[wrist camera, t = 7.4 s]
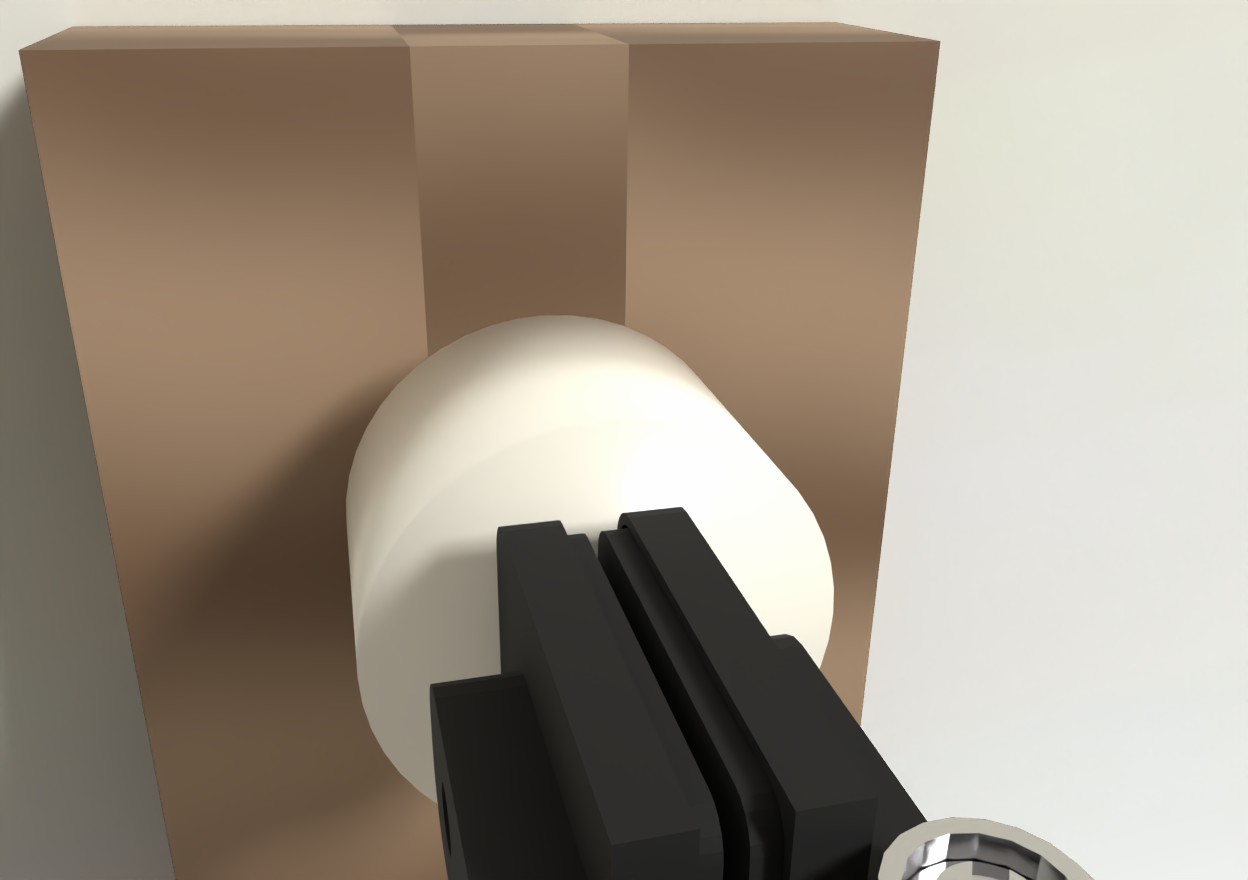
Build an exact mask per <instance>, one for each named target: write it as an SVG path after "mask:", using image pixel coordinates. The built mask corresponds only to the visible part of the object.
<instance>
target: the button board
mask: <svg viewBox="0 0 1248 880" xmlns="http://www.w3.org/2000/svg"><path fill="white" fill-rule="evenodd" d="M939 48H940V41H936V40H931V39H925V38H920V37H914V36H909V35H903V34H898V33H892V32H887V31H881V30H875V29H870V28H864V27H859V26H853V25H848V24H842V23H837V22H826V23H645V24H465V25H284V26H103V27H71V28H68V29H66V30H64V31H62V32H59V33H57V34H55V35H52V36H50V37H48V38H46V39H43V40H41V41H39V42H36V43H34V44H32V45H30V46H27V47H25V48H23V49H20V50H19V55H20V60H21V65H22V70H23V76H24V81H25V86H26V92H27V97H28V102H29V107H30V113H31V118H32V123H33V129H34V134H35V139H36V144H37V150H38V155H39V160H40V166H41V171H42V176H43V181H44V187H45V192H46V197H47V202H48V208H49V213H50V218H51V224H52V229H53V234H54V239H55V245H56V250H57V255H58V261H59V266H60V271H61V276H62V282H63V287H64V292H65V298H66V303H67V308H68V313H69V319H70V324H71V329H72V334H73V340H74V345H75V350H76V356H77V361H78V366H79V371H80V377H81V382H82V387H83V393H84V398H85V403H86V408H87V414H88V419H89V424H90V429H91V435H92V440H93V445H94V451H95V456H96V461H97V466H98V472H99V477H100V482H101V488H102V493H103V498H104V503H105V509H106V514H107V519H108V525H109V530H110V535H111V540H112V546H113V551H114V556H115V561H116V567H117V572H118V577H119V583H120V588H121V593H122V598H123V604H124V609H125V614H126V620H127V625H128V630H129V635H130V641H131V646H132V651H133V656H134V662H135V667H136V672H137V678H138V683H139V688H140V693H141V699H142V704H143V709H144V715H145V720H146V725H147V730H148V736H149V741H150V746H151V752H152V757H153V762H154V767H155V773H156V778H157V783H158V788H159V794H160V799H161V804H162V810H163V815H164V820H165V825H166V831H167V836H168V841H169V847H170V852H171V857H172V862H173V868H174V873H175V878H176V880H448V876H447V870H446V864H445V857H444V850H443V844H442V836H441V828H440V821H439V812H438V804H437V803H435V802H434V801H432V800H431V799H429V798H428V797H427V796H425V795H424V794H422V793H421V792H420V791H419V790H417V789H416V788H415V787H414V786H413V785H412V784H411V783H410V782H409V781H408V780H407V779H406V778H405V777H404V776H402V775H401V774H400V772H399V771H398V770H397V768H396V767H395V766H394V765H393V763H392V762H391V761H390V760H389V758H388V757H387V756H386V754H385V753H384V751H383V750H382V748H381V746H380V744H379V742H378V741H377V739H376V737H375V735H374V733H373V731H372V730H371V727H370V724H369V721H368V718H367V716H366V713H365V710H364V707H363V704H362V699H361V693H360V688H359V682H358V676H357V662H356V648H355V634H354V621H353V607H352V593H351V579H350V565H349V551H348V537H347V521H346V497H347V489H348V481H349V475H350V471H351V467H352V464H353V460H354V457H355V453H356V450H357V448H358V446H359V443H360V441H361V439H362V437H363V434H364V432H365V430H366V428H367V426H368V424H369V423H370V421H371V420H372V418H373V416H374V415H375V413H376V411H377V410H378V408H379V407H380V405H381V404H382V403H383V401H384V400H385V399H386V398H387V397H388V395H389V394H390V393H391V392H392V390H393V389H394V388H395V387H396V386H397V384H398V383H399V382H401V381H402V380H403V379H404V378H405V377H406V376H407V375H408V374H409V373H410V372H411V371H412V370H413V369H414V368H415V367H417V366H418V365H419V364H420V363H422V362H423V361H425V360H426V359H427V358H429V357H430V356H431V355H433V354H434V353H436V352H437V351H438V350H440V349H441V348H443V347H445V346H447V345H449V344H451V343H452V342H454V341H456V340H458V339H460V338H462V337H463V336H465V335H468V334H471V333H473V332H476V331H478V330H481V329H483V328H486V327H488V326H491V325H495V324H499V323H503V322H506V321H510V320H514V319H519V318H527V317H534V316H542V315H574V316H581V317H589V318H597V319H601V320H605V321H608V322H612V323H616V324H619V325H623V326H625V327H628V328H630V329H632V330H635V331H637V332H640V333H642V334H644V335H646V336H648V337H650V338H651V339H653V340H655V341H656V342H658V343H660V344H661V345H663V346H665V347H666V348H668V349H669V350H670V351H671V352H673V353H674V354H675V355H676V356H677V357H679V358H680V359H681V360H682V361H684V362H685V363H686V364H687V365H688V366H689V368H690V369H691V370H692V371H693V372H694V373H695V374H696V375H697V376H698V377H699V378H700V380H701V381H702V382H703V383H704V384H705V385H706V386H707V388H708V389H709V390H710V391H711V392H712V393H713V394H714V396H715V397H716V398H717V399H718V400H719V401H720V402H721V404H722V405H723V406H724V407H725V408H726V409H727V410H728V412H729V413H730V414H731V415H732V416H733V417H734V418H735V420H736V421H737V422H738V423H739V424H740V425H741V426H742V428H743V429H744V430H745V431H746V432H747V433H748V434H749V436H750V437H751V438H752V439H753V440H754V441H755V442H756V444H757V445H758V446H759V447H760V448H761V449H762V450H763V452H764V453H765V454H766V455H767V456H768V457H769V458H770V460H771V461H772V462H773V463H774V464H775V465H776V466H777V468H778V469H779V470H780V471H781V472H782V473H783V474H784V476H785V477H786V478H787V479H788V480H789V481H790V482H791V484H792V485H793V486H794V487H795V488H796V489H797V491H798V492H799V493H800V495H801V496H802V498H803V499H804V501H805V502H806V504H807V505H808V507H809V508H810V510H811V511H812V513H813V514H814V517H815V519H816V521H817V523H818V525H819V528H820V530H821V532H822V534H823V536H824V539H825V543H826V547H827V550H828V554H829V557H830V561H831V568H832V576H833V585H834V602H833V618H832V624H831V630H830V635H829V641H828V644H827V647H826V650H825V654H824V657H823V660H822V663H821V666H820V668H819V669H820V671H821V672H822V673H823V675H824V676H825V678H826V679H827V680H828V682H829V683H830V685H831V686H832V688H833V689H834V690H835V692H836V693H837V695H838V696H839V697H840V699H841V700H842V702H843V703H844V704H845V706H846V707H847V709H848V710H849V712H850V713H851V714H852V716H853V717H854V719H855V720H856V721H857V723H858V724H859V726H860V725H861V716H862V708H863V699H864V690H865V682H866V673H867V665H868V656H869V648H870V639H871V630H872V622H873V613H874V605H875V596H876V588H877V579H878V571H879V562H880V553H881V545H882V536H883V528H884V519H885V511H886V502H887V493H888V485H889V476H890V468H891V459H892V451H893V442H894V433H895V425H896V416H897V408H898V399H899V391H900V382H901V373H902V365H903V356H904V348H905V339H906V331H907V322H908V313H909V305H910V296H911V288H912V279H913V271H914V262H915V253H916V245H917V236H918V228H919V219H920V211H921V202H922V193H923V185H924V176H925V168H926V159H927V151H928V142H929V133H930V125H931V116H932V108H933V99H934V91H935V82H936V73H937V65H938V56H939Z"/></svg>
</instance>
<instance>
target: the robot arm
mask: <svg viewBox="0 0 1248 880" xmlns="http://www.w3.org/2000/svg"><path fill="white" fill-rule="evenodd" d="M496 552H497V580H498V607H499V635H500V663H501V674H497V675H490V676H483V677H476V678H469V679H462V680H455V681H448V682H441V683H433V684H430V716H431V731H432V746H433V760H434V772H435V783H436V793H437V803H438V812H439V821H440V828H441V836H442V844H443V850H444V857H445V864H446V870H447V876H448V880H1094V879H1093V878H1092V877H1091V876H1090V875H1089V874H1088V873H1087V872H1086V871H1085V870H1083V869H1082V868H1081V867H1080V866H1079V865H1078V864H1077V863H1076V862H1074V861H1073V860H1072V859H1070V858H1069V857H1068V856H1066V855H1065V854H1064V853H1062V852H1061V851H1060V850H1058V849H1057V848H1056V847H1055V846H1053V845H1052V844H1051V843H1049V842H1047V841H1045V840H1043V839H1040V838H1038V837H1036V836H1034V835H1032V834H1030V833H1028V832H1026V831H1024V830H1022V829H1020V828H1017V827H1013V826H1009V825H1005V824H1002V823H998V822H994V821H990V820H986V819H974V818H956V817H951V818H946V819H940V820H935V821H929V822H927V820H926V819H925V818H924V816H923V815H922V813H921V812H920V810H919V809H918V808H917V806H916V805H915V803H914V802H913V801H912V799H911V798H910V796H909V795H908V794H907V792H906V791H905V789H904V788H903V786H902V785H901V784H900V782H899V781H898V779H897V778H896V777H895V775H894V774H893V772H892V771H891V770H890V768H889V767H888V765H887V764H886V762H885V761H884V760H883V758H882V757H881V755H880V754H879V753H878V751H877V750H876V748H875V747H874V745H873V744H872V743H871V741H870V740H869V738H868V737H867V736H866V734H865V733H864V731H863V730H862V729H861V727H860V726H859V724H858V723H857V721H856V720H855V719H854V717H853V716H852V714H851V713H850V712H849V710H848V709H847V707H846V706H845V704H844V703H843V702H842V700H841V699H840V697H839V696H838V695H837V693H836V692H835V690H834V689H833V688H832V686H831V685H830V683H829V682H828V680H827V679H826V678H825V676H824V675H823V673H822V672H821V671H820V669H819V668H818V666H817V665H816V664H815V662H814V661H813V659H812V658H811V656H810V655H809V654H808V652H807V651H806V649H805V648H804V647H803V645H802V644H801V643H800V642H799V641H798V640H797V639H796V638H795V637H794V636H791V635H788V634H781V635H774V636H770V635H769V634H768V632H767V631H766V629H765V628H764V626H763V625H762V623H761V622H760V620H759V619H758V617H757V616H756V614H755V613H754V611H753V610H752V608H751V607H750V605H749V604H748V602H747V601H746V599H745V598H744V596H743V595H742V593H741V592H740V590H739V589H738V587H737V586H736V584H735V583H734V581H733V580H732V578H731V577H730V576H729V574H728V573H727V571H726V570H725V568H724V567H723V565H722V564H721V562H720V561H719V559H718V558H717V556H716V555H715V553H714V552H713V550H712V549H711V547H710V546H709V544H708V543H707V541H706V540H705V538H704V537H703V535H702V534H701V532H700V531H699V529H698V528H697V526H696V525H695V523H694V522H693V520H692V519H691V517H690V516H689V514H688V513H687V511H686V510H685V509H684V508H683V507H672V508H663V509H654V510H645V511H636V512H627V513H622V514H621V515H620V517H619V520H618V525H617V529H616V530H607V531H601V533H600V534H599V539H598V558H597V556H596V554H595V552H594V550H593V548H592V545H591V543H590V541H589V539H588V537H587V536H586V534H585V533H581V534H572V535H567V533H566V530H565V528H564V526H563V524H562V523H561V521H560V520H554V521H545V522H536V523H527V524H518V525H509V526H500V527H498V530H497V538H496Z"/></svg>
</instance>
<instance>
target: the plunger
mask: <svg viewBox="0 0 1248 880" xmlns="http://www.w3.org/2000/svg"><path fill="white" fill-rule="evenodd" d="M672 507H683V508H684V509H685V510H686V511H687V513H688V514H689V516H690V517H691V519H692V520H693V522H694V523H695V525H696V526H697V528H698V529H699V531H700V532H701V534H702V535H703V537H704V538H705V540H706V541H707V543H708V544H709V546H710V547H711V549H712V550H713V552H714V553H715V555H716V556H717V558H718V559H719V561H720V562H721V564H722V565H723V567H724V568H725V570H726V571H727V573H728V574H729V576H730V577H731V578H732V580H733V581H734V583H735V584H736V586H737V587H738V589H739V590H740V592H741V593H742V595H743V596H744V598H745V599H746V601H747V602H748V604H749V605H750V607H751V608H752V610H753V611H754V613H755V614H756V616H757V617H758V619H759V620H760V622H761V623H762V625H763V626H764V628H765V629H766V631H767V632H768V634H769V635H770V636H774V635H781V634H788V635H791V636H794V637H795V638H796V639H797V640H798V641H799V642H800V643H801V644H802V645H803V647H804V648H805V649H806V651H807V652H808V654H809V655H810V656H811V658H812V659H813V661H814V662H815V664H816V665H817V666H818V668H820V666H821V663H822V660H823V657H824V654H825V650H826V647H827V644H828V641H829V635H830V630H831V624H832V618H833V602H834V585H833V576H832V568H831V561H830V557H829V554H828V550H827V547H826V543H825V539H824V536H823V534H822V532H821V530H820V528H819V525H818V523H817V521H816V519H815V517H814V514H813V513H812V511H811V510H810V508H809V507H808V505H807V504H806V502H805V501H804V499H803V498H802V496H801V495H800V493H799V492H798V491H797V489H796V488H795V487H794V486H793V485H792V484H791V482H790V481H789V480H788V479H787V478H786V477H785V476H784V474H783V473H782V472H781V471H780V470H779V469H778V468H777V466H776V465H775V464H774V463H773V462H772V461H771V460H770V458H769V457H768V456H767V455H766V454H765V453H764V452H763V450H762V449H761V448H760V447H759V446H758V445H757V444H756V442H755V441H754V440H753V439H752V438H751V437H750V436H749V434H748V433H747V432H746V431H745V430H744V429H743V428H742V426H741V425H740V424H739V423H738V422H737V421H736V420H735V418H734V417H733V416H732V415H731V414H730V413H729V412H728V410H727V409H726V408H725V407H724V406H723V405H722V404H721V402H720V401H719V400H718V399H717V398H716V397H715V396H714V394H713V393H712V392H711V391H710V390H709V389H708V388H707V386H706V385H705V384H704V383H703V382H702V381H701V380H700V378H699V377H698V376H697V375H696V374H695V373H694V372H693V371H692V370H691V369H690V368H689V366H688V365H687V364H686V363H685V362H684V361H682V360H681V359H680V358H679V357H677V356H676V355H675V354H674V353H673V352H671V351H670V350H669V349H668V348H666V347H665V346H663V345H661V344H660V343H658V342H656V341H655V340H653V339H651V338H650V337H648V336H646V335H644V334H642V333H640V332H637V331H635V330H632V329H630V328H628V327H625V326H623V325H619V324H616V323H612V322H608V321H605V320H601V319H597V318H589V317H581V316H574V315H542V316H534V317H527V318H519V319H514V320H510V321H506V322H503V323H499V324H495V325H491V326H488V327H486V328H483V329H481V330H478V331H476V332H473V333H471V334H468V335H465V336H463V337H462V338H460V339H458V340H456V341H454V342H452V343H451V344H449V345H447V346H445V347H443V348H441V349H440V350H438V351H437V352H436V353H434V354H433V355H431V356H430V357H429V358H427V359H426V360H425V361H423V362H422V363H420V364H419V365H418V366H417V367H415V368H414V369H413V370H412V371H411V372H410V373H409V374H408V375H407V376H406V377H405V378H404V379H403V380H402V381H401V382H399V383H398V384H397V386H396V387H395V388H394V389H393V390H392V392H391V393H390V394H389V395H388V397H387V398H386V399H385V400H384V401H383V403H382V404H381V405H380V407H379V408H378V410H377V411H376V413H375V415H374V416H373V418H372V420H371V421H370V423H369V424H368V426H367V428H366V430H365V432H364V434H363V437H362V439H361V441H360V443H359V446H358V448H357V450H356V453H355V457H354V460H353V464H352V467H351V471H350V475H349V481H348V489H347V497H346V521H347V537H348V551H349V565H350V579H351V593H352V607H353V621H354V634H355V648H356V662H357V676H358V682H359V688H360V693H361V699H362V704H363V707H364V710H365V713H366V716H367V718H368V721H369V724H370V727H371V730H372V731H373V733H374V735H375V737H376V739H377V741H378V742H379V744H380V746H381V748H382V750H383V751H384V753H385V754H386V756H387V757H388V758H389V760H390V761H391V762H392V763H393V765H394V766H395V767H396V768H397V770H398V771H399V772H400V774H401V775H402V776H404V777H405V778H406V779H407V780H408V781H409V782H410V783H411V784H412V785H413V786H414V787H415V788H416V789H417V790H419V791H420V792H421V793H422V794H424V795H425V796H427V797H428V798H429V799H431V800H432V801H434V802H435V803H437V793H436V783H435V772H434V760H433V746H432V731H431V716H430V684H433V683H441V682H448V681H455V680H462V679H469V678H476V677H483V676H490V675H497V674H501V663H500V635H499V607H498V580H497V552H496V538H497V530H498V527H500V526H509V525H518V524H527V523H536V522H545V521H554V520H560V521H561V523H562V524H563V526H564V528H565V530H566V533H567V535H572V534H581V533H585V534H586V536H587V537H588V539H589V541H590V543H591V545H592V548H593V550H594V552H595V554H596V556H597V558H598V539H599V534H600V533H601V531H607V530H616V529H617V525H618V520H619V517H620V515H621V514H622V513H627V512H636V511H645V510H654V509H663V508H672ZM437 804H438V803H437Z"/></svg>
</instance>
